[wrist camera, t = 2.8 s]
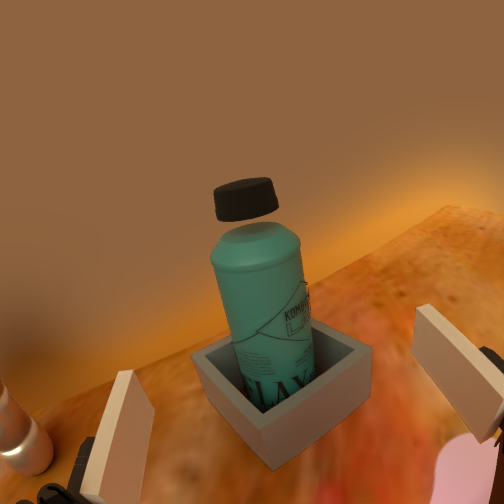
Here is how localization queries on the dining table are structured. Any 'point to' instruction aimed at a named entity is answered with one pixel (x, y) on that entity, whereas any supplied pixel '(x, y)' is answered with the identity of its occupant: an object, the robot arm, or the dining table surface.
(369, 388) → the bottle holder
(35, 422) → the plastic bottle
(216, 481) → the dining table surface
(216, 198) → the beverage bottle
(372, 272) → the dining table surface
